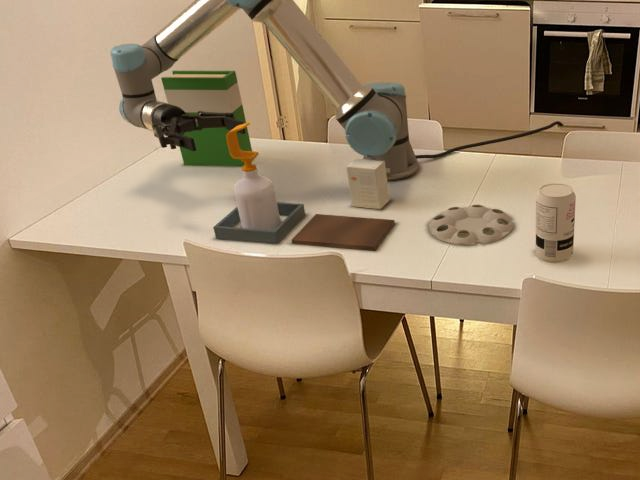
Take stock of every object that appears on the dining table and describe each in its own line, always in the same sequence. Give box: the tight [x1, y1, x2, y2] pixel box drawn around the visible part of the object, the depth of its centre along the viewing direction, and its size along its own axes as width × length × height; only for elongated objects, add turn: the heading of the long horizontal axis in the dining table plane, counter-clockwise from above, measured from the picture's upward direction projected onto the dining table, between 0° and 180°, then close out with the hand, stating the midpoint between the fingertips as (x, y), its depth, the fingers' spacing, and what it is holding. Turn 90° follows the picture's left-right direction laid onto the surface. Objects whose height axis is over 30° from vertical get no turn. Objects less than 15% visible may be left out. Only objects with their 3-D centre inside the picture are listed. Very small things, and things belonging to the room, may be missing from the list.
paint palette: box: [429, 204, 514, 246], centre depth 176 cm, size 20×20×2 cm
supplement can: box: [534, 182, 577, 263], centre depth 159 cm, size 8×8×15 cm
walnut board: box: [291, 213, 396, 252], centre depth 175 cm, size 20×14×1 cm
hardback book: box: [160, 70, 253, 167], centre depth 209 cm, size 18×7×24 cm, turn 83°
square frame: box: [212, 201, 306, 245], centre depth 179 cm, size 16×16×3 cm
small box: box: [345, 158, 391, 210], centre depth 186 cm, size 8×6×10 cm
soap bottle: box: [226, 121, 282, 231], centre depth 172 cm, size 9×9×25 cm
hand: (219, 136), depth 172 cm, fingers open, 13 cm apart
